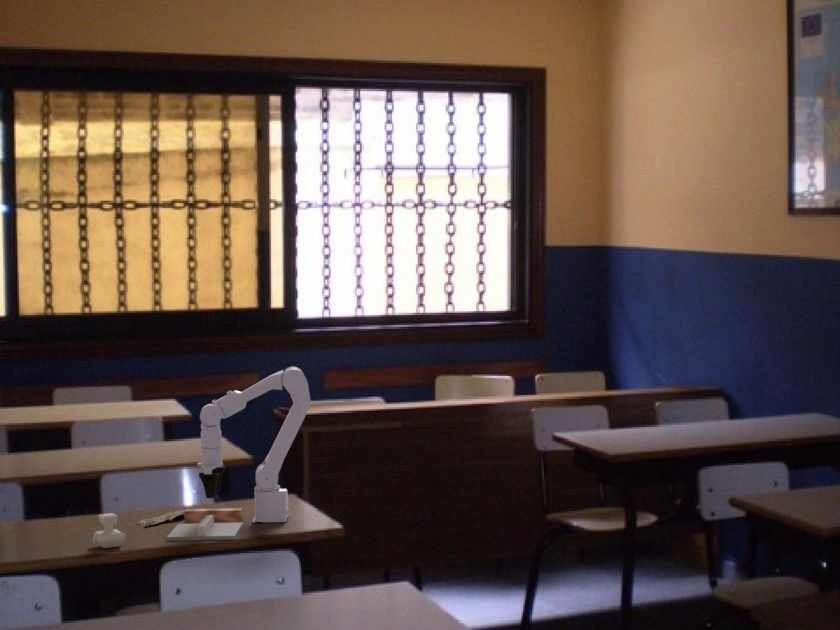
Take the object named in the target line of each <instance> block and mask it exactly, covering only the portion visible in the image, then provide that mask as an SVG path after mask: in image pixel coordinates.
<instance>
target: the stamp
mask: <svg viewBox="0 0 840 630" xmlns="http://www.w3.org/2000/svg"><path fill="white" fill-rule="evenodd" d="M97 517H98V521H99V523H100V524H101V525H102V526H104V528H103V530H96V531H94V533H93V538H92V539H91V542H92V544H98V545H99V547H101V548H102V549H112V548H111V547H113V548H118V547H120V546H121V544H122V543H123V542H124V540H125V539H126V538H127V535H126V533H124V532H122V531H120V530H119V529H117V528H114V525H116V524H117V523H118V521H119V519H118V518H119V517H118V515H117V514H116V513H113V512H110V513H103V514H98V515H97Z"/></svg>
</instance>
